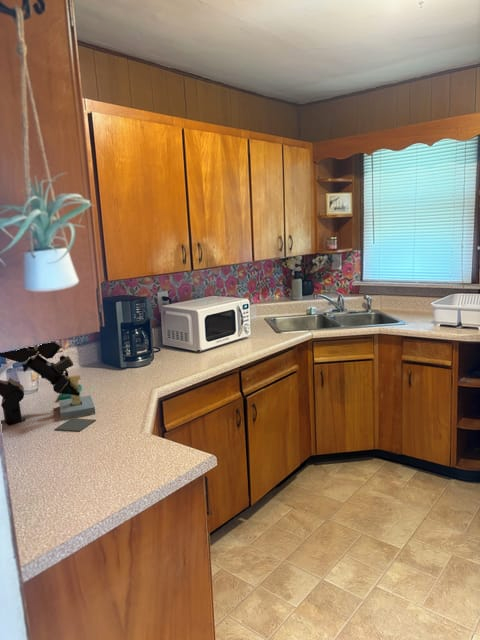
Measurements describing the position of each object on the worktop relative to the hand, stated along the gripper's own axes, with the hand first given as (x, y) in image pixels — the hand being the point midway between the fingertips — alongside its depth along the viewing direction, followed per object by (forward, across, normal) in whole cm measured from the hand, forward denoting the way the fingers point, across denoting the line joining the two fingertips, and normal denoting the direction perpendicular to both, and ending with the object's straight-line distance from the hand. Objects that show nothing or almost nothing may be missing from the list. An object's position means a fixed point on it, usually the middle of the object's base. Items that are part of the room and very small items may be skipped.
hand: (78, 391), depth 184 cm
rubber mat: (+3, -17, +7) cm, 18 cm away
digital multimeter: (+4, +21, +7) cm, 23 cm away
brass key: (+4, 0, +6) cm, 7 cm away
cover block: (+4, 0, +6) cm, 7 cm away
